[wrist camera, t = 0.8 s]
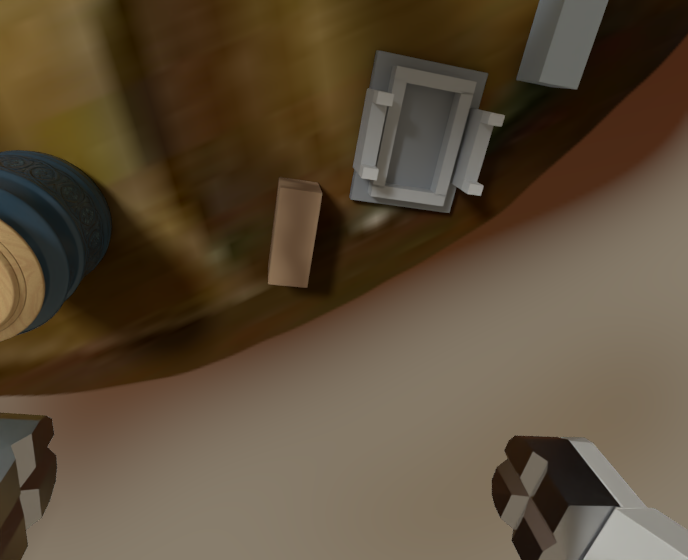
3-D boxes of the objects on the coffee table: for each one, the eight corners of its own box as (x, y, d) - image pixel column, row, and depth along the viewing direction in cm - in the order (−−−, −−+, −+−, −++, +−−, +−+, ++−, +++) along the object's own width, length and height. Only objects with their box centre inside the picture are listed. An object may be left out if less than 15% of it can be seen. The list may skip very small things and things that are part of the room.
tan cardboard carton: (268, 266, 50) (268, 284, 46) (279, 176, 46) (280, 187, 42) (304, 270, 51) (307, 287, 47) (317, 182, 47) (322, 193, 43)
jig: (372, 49, 42) (386, 47, 37) (487, 73, 45) (517, 75, 39) (345, 196, 48) (355, 213, 43) (449, 210, 50) (470, 228, 45)
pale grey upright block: (542, -13, 42) (571, -21, 38) (580, -4, 43) (612, -10, 39) (515, 79, 46) (538, 81, 42) (550, 87, 46) (577, 89, 42)
